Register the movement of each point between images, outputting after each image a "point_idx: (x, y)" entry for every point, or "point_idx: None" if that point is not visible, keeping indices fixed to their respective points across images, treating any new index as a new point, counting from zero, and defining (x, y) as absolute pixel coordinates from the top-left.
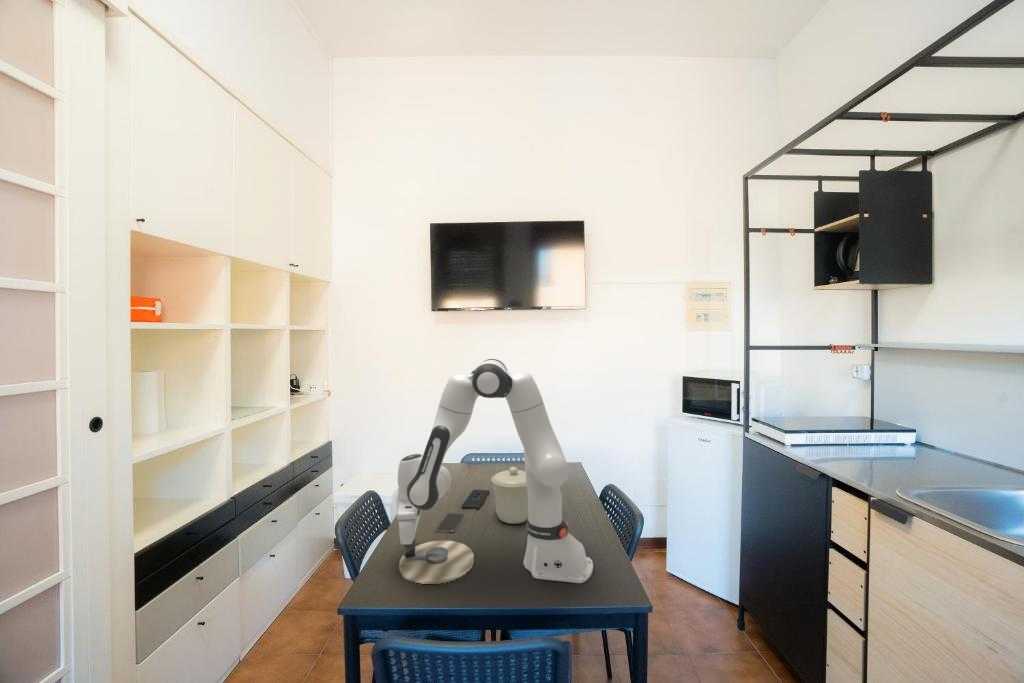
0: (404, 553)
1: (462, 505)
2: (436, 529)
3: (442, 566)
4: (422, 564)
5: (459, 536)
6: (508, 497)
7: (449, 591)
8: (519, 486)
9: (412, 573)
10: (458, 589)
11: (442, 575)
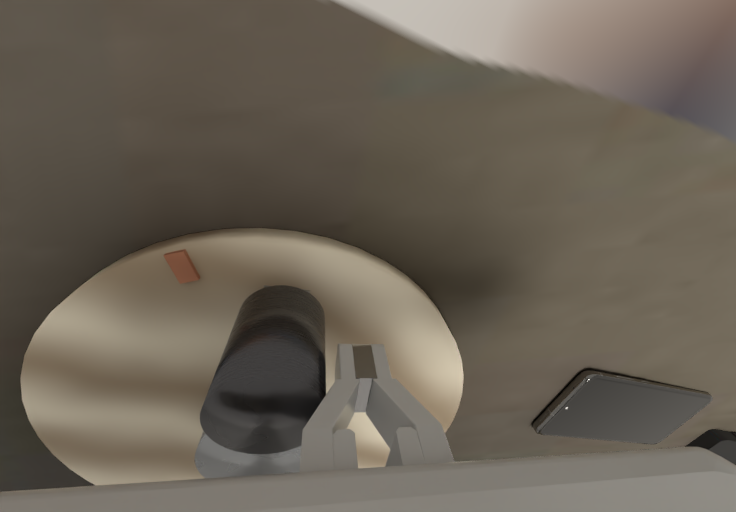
0: (252, 306)
1: (726, 442)
2: (592, 378)
3: (187, 446)
4: (208, 371)
5: (487, 443)
6: None
7: (18, 458)
8: None
9: (86, 335)
10: (45, 479)
11: (95, 455)
